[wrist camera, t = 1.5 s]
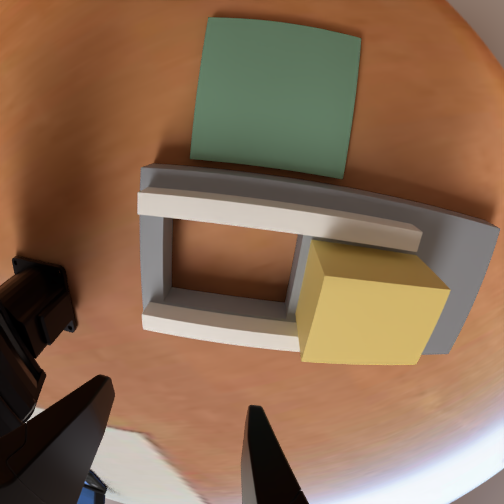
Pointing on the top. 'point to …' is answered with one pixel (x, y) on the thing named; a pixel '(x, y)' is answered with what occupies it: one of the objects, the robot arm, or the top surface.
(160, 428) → the top surface
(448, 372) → the top surface
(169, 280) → the channel deck
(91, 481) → the handheld game console
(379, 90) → the top surface
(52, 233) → the top surface
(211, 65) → the felt mat
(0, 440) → the robot arm
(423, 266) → the brick
